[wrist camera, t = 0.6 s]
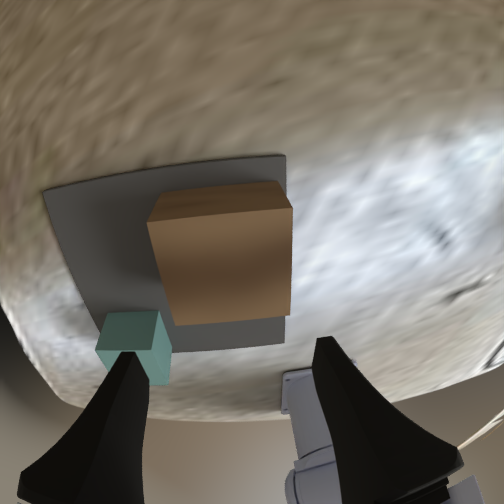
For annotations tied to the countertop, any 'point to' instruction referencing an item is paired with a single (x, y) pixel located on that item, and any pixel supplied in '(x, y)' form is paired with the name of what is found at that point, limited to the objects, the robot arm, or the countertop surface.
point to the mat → (148, 245)
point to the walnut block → (224, 252)
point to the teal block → (137, 342)
